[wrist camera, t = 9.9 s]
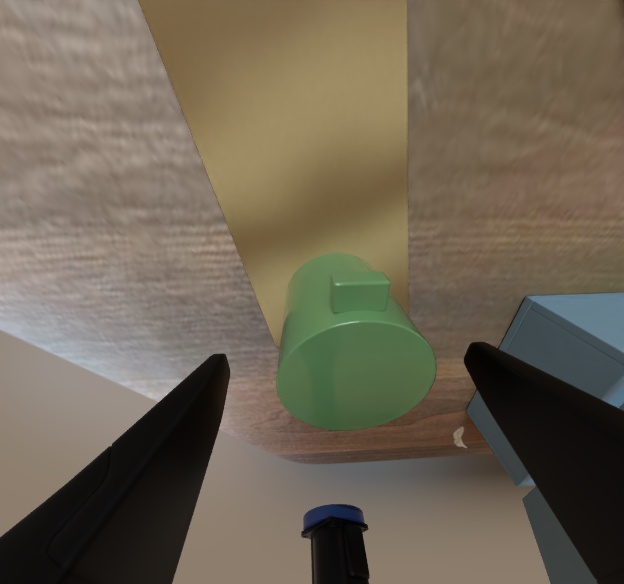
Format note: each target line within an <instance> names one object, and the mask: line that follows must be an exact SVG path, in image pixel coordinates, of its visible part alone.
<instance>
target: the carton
mask: <svg viewBox="0 0 624 584" xmlns="http://www.w3.org/2000/svg"><path fill="white" fill-rule="evenodd" d="M499 349H500V350H502V351H504V352H506V353H508V354H510V355H512V356H514V357H516V358H518V359H520V360H522V361H524V362H526V363H528V364H530V365H532V366H534V367H536V368H538V369H540V370H542V371H544V372H546V373H548V374H550V375H552V376H554V377H556V378H558V379H560V380H562V381H564V382H566V383H569V384H571V385H573V386H575V387H577V388H579V389H581V390H583V391H585V392H587V393H589V394H591V395H593V396H595V397H597V398H599V399H601V400H603V401H605V402H607V403H609V404H611V405H613V406H615V407H617V408H619V407H620V406H621V405H622V404H623V403H624V293H601V294H574V295H548V296H526V298H525V299H524V301H523V303H522V305H521V307H520V309H519V311H518V313H517V315H516V317H515V319H514V320H513V322H512V324H511V326H510V328H509V330H508V332H507V334H506V336H505V338H504V340H503V341H502V343H501V345H500V347H499ZM466 413H467V414H468V416H469V417H470V418H471V420H472V421H473V423H474V424H475V426H476V427H477V429H478V430H479V432H480V433H481V435H482V436H483V438H484V439H485V441H486V442H487V444H488V445H489V447H490V448H491V450H492V451H493V453H494V454H495V455H496V457H497V458H498V460H499V461H500V463H501V464H502V466H503V467H504V469H505V470H506V472H507V473H508V475H509V476H510V478H511V479H512V480H513V482H514V484H515V485H516V486H517V487H521V486H535V483H534V482H533V480H532V478H531V477H530V475H529V474H528V472H527V470H526V469H525V467H524V466H523V464H522V462H521V461H520V459H519V458H518V456H517V455H516V453H515V451H514V450H513V448H512V447H511V445H510V443H509V442H508V440H507V439H506V437H505V435H504V434H503V432H502V431H501V429H500V428H499V426H498V424H497V423H496V421H495V420H494V418H493V416H492V415H491V413H490V412H489V410H488V408H487V407H486V405H485V403H484V401H483V399H482V398H481V396H480V394H479V392H478V390H477V391H476V393H475V395H474V397H473V399H472V401H471V402H470V404H469V406H468V408H467V410H466Z"/></svg>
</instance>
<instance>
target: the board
mask: <svg viewBox="0 0 624 584" xmlns="http://www.w3.org/2000/svg"><path fill="white" fill-rule="evenodd" d="M138 1H139V3H140V6H141V8H142V11H143V13H144V16H145V18H146V21H147V23H148V26H149V28H150V31H151V33H152V36H153V38H154V41H155V43H156V46H157V48H158V51H159V53H160V56H161V58H162V61H163V63H164V66H165V69H166V71H167V74H168V76H169V79H170V81H171V84H172V86H173V89H174V91H175V94H176V96H177V99H178V101H179V104H180V106H181V109H182V111H183V114H184V116H185V119H186V121H187V124H188V126H189V129H190V131H191V134H192V136H193V139H194V141H195V144H196V146H197V149H198V152H199V154H200V157H201V159H202V162H203V164H204V167H205V169H206V172H207V174H208V177H209V179H210V182H211V184H212V187H213V189H214V192H215V194H216V197H217V199H218V202H219V204H220V207H221V209H222V212H223V214H224V217H225V219H226V222H227V224H228V227H229V229H230V232H231V234H232V237H233V240H234V242H235V245H236V247H237V250H238V252H239V255H240V257H241V260H242V262H243V265H244V267H245V270H246V272H247V275H248V277H249V280H250V282H251V285H252V287H253V290H254V292H255V295H256V297H257V300H258V302H259V305H260V307H261V310H262V312H263V315H264V317H265V320H266V323H267V325H268V328H269V330H270V333H271V335H272V338H273V340H274V343H275V345H276V348H279V347H280V341H281V332H282V323H283V314H284V305H285V296H286V290H287V286H288V284H289V281H290V279H291V278H292V276H293V275H294V273H295V272H296V271H297V270H298V269H299V268H300V267H301V266H302V265H303V264H305V263H306V262H308V261H309V260H311V259H313V258H315V257H318V256H321V255H325V254H330V253H345V254H351V255H354V256H357V257H359V258H361V259H363V260H365V261H366V262H368V263H369V264H370V265H371V266H372V267H373V268H374V269H375V270H376V271H381V272H383V273H384V274H385V275H386V277H387V278H388V279H389V280H390V283H391V285H390V291H391V292H392V294H393V295H394V297H395V298H396V299H397V301H398V302H399V303H400V305H401V306H402V308H403V309H404V310H405V312H406V313H407V314H408V83H407V0H138Z"/></svg>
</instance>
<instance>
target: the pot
mask: <svg viewBox="0 0 624 584" xmlns="http://www.w3.org/2000/svg"><path fill="white" fill-rule="evenodd" d="M390 285H391V283H390V280H389V279H388V278H387V277H386V275H385V274H384V273H383V272H381V271H376V270H375V269H374V268H373V267H372V266H371V265H370V264H369V263H368V262H366V261H365V260H363V259H361V258H359V257H357V256H354V255H351V254H345V253H330V254H325V255H321V256H318V257H315V258H313V259H311V260H309V261H308V262H306V263H305V264H303V265H302V266H301V267H300V268H299V269H298V270H297V271H296V272H295V273H294V275H293V276H292V278H291V279H290V281H289V284H288V286H287V290H286V296H285V305H284V314H283V323H282V332H281V341H280V350H279V359H278V367H277V376H276V389H277V393H278V396H279V398H280V401H281V403H282V404H283V406H284V407H285V408H286V409H287V410H288V411H289V413H291V414H292V415H293V416H294V417H296V418H297V419H299V420H301V421H302V422H305V423H307V424H309V425H312V426H315V427H319V428H323V429H328V430H329V431H350V430H361V429H366V428H371V427H375V426H379V425H382V424H385V423H387V422H390V421H392V420H395V419H397V418H398V417H400V416H402V415H404V414H405V413H407V412H409V411H410V410H411V409H413V408H414V407H415V406H416V405H417V404H419V403H420V402H421V401H422V400H423V398H424V397H425V396H426V395H427V393H428V392H429V390H430V389H431V387H432V385H433V383H434V380H435V376H436V369H437V366H436V358H435V355H434V352H433V350H432V348H431V347H430V345H429V343H428V342H427V341H426V339H425V338H424V337H423V335H422V334H421V332H420V331H419V330H418V328H417V327H416V326H415V324H414V323H413V321H412V320H411V319H410V317H409V316H408V314H407V313H406V312H405V310H404V309H403V308H402V306H401V305H400V303H399V302H398V301H397V299H396V298H395V297H394V295H393V294H392V292H391V291H390Z"/></svg>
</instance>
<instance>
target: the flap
mask: <svg viewBox="0 0 624 584" xmlns="http://www.w3.org/2000/svg"><path fill="white" fill-rule="evenodd" d="M619 409H621V410H623V411H624V403H623V404H622V405H621V406H620V407H619ZM522 500H523V503H524V506H525V508H526V512H527V515H528V518H529V521H530V523H531V526H532V530H533V533H534V536H535V539H536V542H537V544H538V547H539V550H540V553H541V556H542V559H543V562H544V565H545V568H546V571H547V574H548V576H549V580H550V583H551V584H597V582H596V579H595V578H594V577H593V575H592V574H591V572H590V571H589V569H588V567H587V566H586V564H585V563H584V561H583V559H582V558H581V556H580V555H579V553H578V551H577V550H576V548H575V547H574V545H573V544H572V542H571V540H570V539H569V537H568V536H567V534H566V532H565V531H564V529H563V528H562V526H561V524H560V523H559V521H558V520H557V518H556V517H555V515H554V513H553V512H552V510H551V509H550V507H549V505H548V504H547V502H546V501H545V499H544V497H543V496H542V494H541V493H540V491H539V489H538V488H537V486H536V487H535V488H533V489H532V490H531V491H530V492H529V493H528V494H527V495H526V496H525V497H524V498H523V499H522Z"/></svg>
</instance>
